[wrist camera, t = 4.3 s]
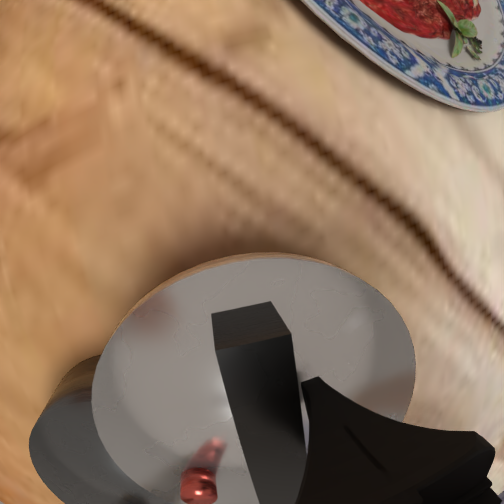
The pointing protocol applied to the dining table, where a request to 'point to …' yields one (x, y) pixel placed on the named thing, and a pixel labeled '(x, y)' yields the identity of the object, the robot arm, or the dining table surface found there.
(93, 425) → the cooker body
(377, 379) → the cooker lid
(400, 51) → the ceramic plate
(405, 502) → the robot arm
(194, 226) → the dining table surface
